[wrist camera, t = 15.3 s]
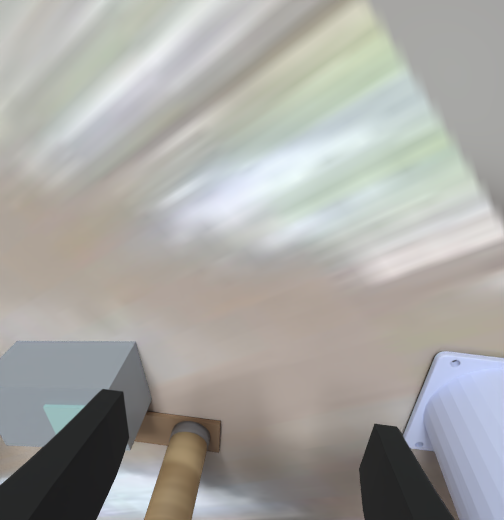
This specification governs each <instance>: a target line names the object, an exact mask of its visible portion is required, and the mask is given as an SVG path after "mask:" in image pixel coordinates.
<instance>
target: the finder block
mask: <svg viewBox="0 0 504 520" xmlns="http://www.w3.org/2000/svg"><path fill="white" fill-rule="evenodd" d="M102 389H108V390H116V391H123V393H124V401H125V408H126V416H127V423H128V431H129V440H128V443H127V446H126V449H125V450H131V447H132V445H133V443H134V440H135V438H136V436H137V433H138V431H139V428H140V426H141V424H142V421H143V419H144V417H145V414H146V412H147V409H148V407H149V405H150V402H151V400H152V398H151V394H150V391H149V387H148V384H147V380H146V377H145V373H144V370H143V366H142V363H141V359H140V355H139V352H138V348H137V345H136V342H108V341H17V342H16V343H15V344H14V345H13V346H12V347H11V348H10V349H9V350H8V351H7V352H6V353H5V354H4V355H3V356H2V357H1V358H0V435H1V437H2V439H3V440H4V442H5V444H6V445H11V446H35V447H43V446H45V445H46V444H47V443H48V442H49V441H50V440H51V439H52V438H53V437H54V436H55V435H56V434H57V433H58V432H59V431H60V430H61V429H62V428H63V427H64V426H65V425H66V424H67V423H69V422H70V421H71V420H72V419H73V418H74V417H75V416H76V415H77V414H78V413H79V412H80V411H81V410H82V409H83V408H84V407H85V406H86V404H87V403H88V402H89V401H90V400H91V399H92V398H93V397H94V396H95V395H96V394H97V393H98V392H99V391H101V390H102Z"/></svg>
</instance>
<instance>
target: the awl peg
mask: <svg viewBox="0 0 504 520" xmlns="http://www.w3.org/2000/svg"><path fill="white" fill-rule="evenodd" d="M209 441H210V433H209V431H208V430H207V428H206V427H204V426H203V425H201V424H199V423H197V422H193V421H183V422H179V423H177V424H176V425H175V426H174V427H173V430H172V433H171V436H170V439H169V444H168V447H167V450H166V454H165V457H164V460H163V463H162V466H161V469H160V472H159V475H158V478H157V481H156V484H155V487H154V491H153V494H152V497H151V500H150V503H149V506H148V509H147V512H146V515H145V518H144V520H191V519H192V515H193V510H194V506H195V501H196V496H197V492H198V487H199V483H200V478H201V474H202V469H203V465H204V460H205V456H206V452H207V450H208V445H209Z"/></svg>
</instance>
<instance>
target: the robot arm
mask: <svg viewBox="0 0 504 520" xmlns="http://www.w3.org/2000/svg"><path fill="white" fill-rule="evenodd" d="M454 360H456V361H455V362H452V361H454ZM128 440H129V431H128V423H127V416H126V408H125V401H124V393H123V391H116V390H108V389H102V390H101V391H99V392H98V393H97V394H96V395H95V396H94V397H93V398H92V399H91V400H90V401H89V402H88V403H87V404H86V406H85V407H84V408H83V409H82V410H81V411H80V412H79V413H78V414H77V415H76V416H75V417H74V418H73V419H72V420H71V421H70V422H69V423H67V424H66V425H65V426H64V427H63V428H62V429H61V430H60V431H59V432H58V433H57V434H56V435H55V436H54V437H53V438H52V439H51V440H50V441H49V442H48V443H47V444H46V445H45V446H43V447H42V448H41V449H40V450H39V451H38V452H37V453H36V454H35V455H34V456H33V457H32V458H31V459H30V460H28V461H27V462H26V463H25V464H24V465H23V466H22V467H20V468H19V469H18V470H17V471H16V472H15V473H14V474H13V475H11V476H10V477H9V478H8V479H7V480H6V481H5V482H3V483H2V484H1V485H0V520H96V519H97V517H98V515H99V513H100V510H101V508H102V506H103V504H104V502H105V500H106V497H107V495H108V493H109V491H110V489H111V486H112V484H113V482H114V480H115V478H116V475H117V473H118V470H119V467H120V464H121V461H122V458H123V455H124V452H125V449H126V446H127V443H128ZM410 448H413V449H420V450H428V451H434V452H435V455H436V457H437V460H438V463H439V466H440V468H441V471H442V474H443V476H444V479H445V482H446V485H447V487H448V490H449V493H450V495H451V498H452V501H453V504H454V506H455V509H456V512H457V514H458V517H459V520H504V358H499V357H490V356H482V355H473V354H465V353H456V352H448V351H443V352H440V353H438V354H437V355H436V356H435V358H434V360H433V363H432V365H431V368H430V370H429V373H428V375H427V377H426V380H425V382H424V385H423V387H422V390H421V392H420V395H419V397H418V400H417V402H416V405H415V407H414V409H413V412H412V414H411V417H410V419H409V422H408V424H407V427H406V429H405V432H404V434H403V435H402V433H401V432H400V430H399V429H398V428H397V427H395V426H388V425H380V424H374V427H373V430H372V433H371V436H370V439H369V442H368V445H367V448H366V450H365V453H364V456H363V459H362V462H361V465H360V468H359V472H360V484H361V495H362V505H363V512H364V518H365V520H454V518H453V517H452V515H451V514H450V512H449V510H448V509H447V507H446V506H445V504H444V503H443V501H442V500H441V498H440V497H439V495H438V494H437V492H436V490H435V489H434V487H433V486H432V484H431V482H430V481H429V479H428V477H427V476H426V474H425V473H424V471H423V469H422V468H421V466H420V464H419V463H418V461H417V459H416V458H415V456H414V454H413V452H412V451H411V449H410Z"/></svg>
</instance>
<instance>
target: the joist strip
mask: <svg viewBox="0 0 504 520" xmlns="http://www.w3.org/2000/svg"><path fill="white" fill-rule="evenodd" d="M183 421H193V422H197V423H199V424H201V425H203V426H204V427H206V428H207V430H208V431H209V433H210V441H209V445H208V450H207V451H211V452H218V453H219V446H220V425H221V421H217V420H209V419H201V418H194V417H186V416H179V415H171V414H163V413H156V412H148V411H147V412H146V414H145V417H144V419H143V421H142V424H141V426H140V428H139V431H138V433H137V436H136V438H135V440H134V441H137V442H144V443H152V444H159V445H167V446H168V444H169V439H170V436H171V433H172V430H173V427H174V426H175V425H176V424H177V423H179V422H183Z"/></svg>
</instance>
